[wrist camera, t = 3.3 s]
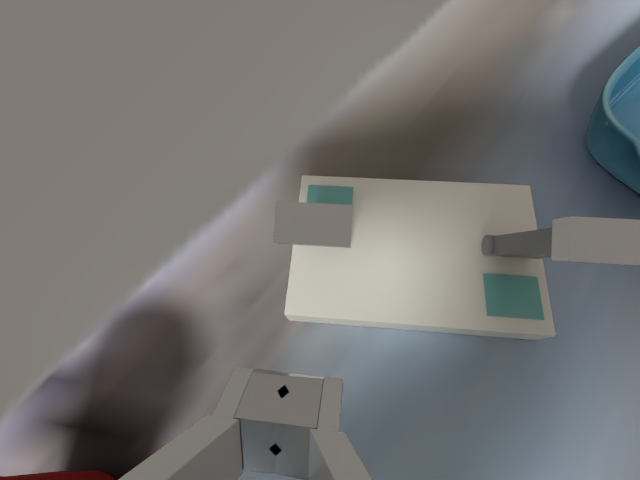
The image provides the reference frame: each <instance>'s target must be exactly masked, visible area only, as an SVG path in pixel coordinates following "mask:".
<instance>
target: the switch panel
mask: <svg viewBox="0 0 640 480" xmlns="http://www.w3.org/2000/svg"><path fill="white" fill-rule="evenodd" d="M299 202H305V203H324V204H344V205H353V214H352V231H351V247H350V248H340V247H324V246H307V245H293V250H292V258H291V266H290V274H289V282H288V290H287V297H286V305H285V313H284V315H285V316H286V317H287V318H288V320H291V321H303V322H316V323H328V324H341V325H353V326H365V327H378V328H390V329H403V330H415V331H427V332H440V333H452V334H465V335H477V336H489V337H502V338H514V339H527V340H540V339H544V338H549V337H554V336H556V333H555V327H554V321H553V315H552V309H551V304H550V298H549V292H548V286H547V281H546V275H545V269H544V263H543V258H541V259H531V258H515V257H498V256H485V255H484V254H483V252H482V240H483V238H484V236H485V235H504V234H511V233H518V232H525V231H533V230H538V229H537V223H536V217H535V211H534V206H533V200H532V194H531V188H530V185H511V184H489V183H466V182H443V181H421V180H398V179H375V178H352V177H330V176H307V175H302V179H301V187H300V195H299Z"/></svg>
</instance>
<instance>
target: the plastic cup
mask: <svg viewBox="0 0 640 480" xmlns="http://www.w3.org/2000/svg"><path fill="white" fill-rule="evenodd" d="M0 480H115V478H113V477H111V476H110V475H108V474H107V473H105V472H101V471H76V472H68V471H59V472H49V473H39V474H28V475H18V476H8V477H1V476H0Z"/></svg>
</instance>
